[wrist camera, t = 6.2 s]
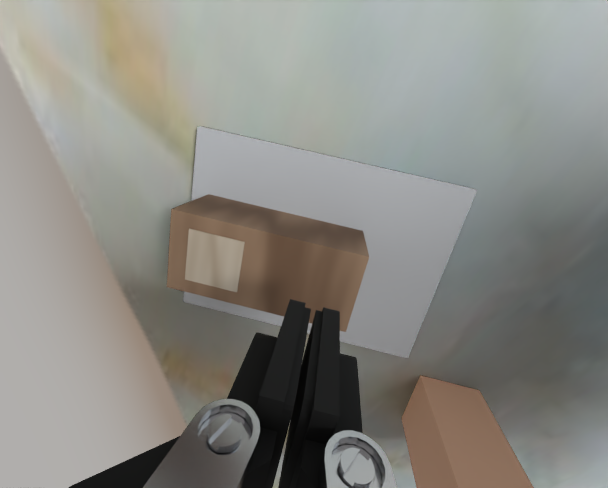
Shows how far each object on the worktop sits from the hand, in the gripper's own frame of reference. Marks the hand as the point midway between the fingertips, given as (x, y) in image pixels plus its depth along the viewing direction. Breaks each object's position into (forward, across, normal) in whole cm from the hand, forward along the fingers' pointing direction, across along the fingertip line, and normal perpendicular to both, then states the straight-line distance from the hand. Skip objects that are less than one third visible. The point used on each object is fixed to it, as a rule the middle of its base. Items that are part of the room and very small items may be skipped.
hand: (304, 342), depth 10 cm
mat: (+9, 0, 0) cm, 9 cm away
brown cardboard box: (+6, -2, 0) cm, 6 cm away
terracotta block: (+9, -10, +9) cm, 16 cm away
